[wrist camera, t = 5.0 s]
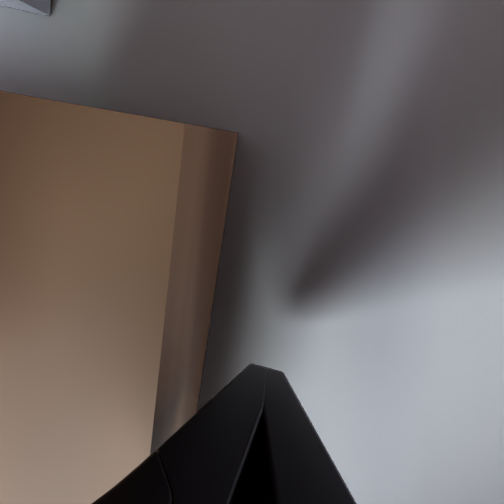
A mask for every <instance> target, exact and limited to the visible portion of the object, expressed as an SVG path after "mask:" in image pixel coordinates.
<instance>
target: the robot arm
mask: <svg viewBox="0 0 504 504" xmlns="http://www.w3.org/2000/svg"><path fill="white" fill-rule="evenodd" d="M92 504H356V502H355V500H354V498H353V497H352V495H351V493H350V491H349V489H348V488H347V486H346V484H345V482H344V480H343V479H342V477H341V475H340V473H339V471H338V470H337V468H336V466H335V464H334V462H333V461H332V459H331V457H330V455H329V453H328V452H327V450H326V448H325V446H324V444H323V443H322V441H321V439H320V437H319V435H318V434H317V432H316V430H315V428H314V426H313V425H312V423H311V421H310V419H309V417H308V416H307V414H306V412H305V410H304V408H303V407H302V405H301V403H300V401H299V399H298V398H297V396H296V394H295V392H294V390H293V389H292V387H291V385H290V383H289V382H288V380H287V378H286V376H285V374H284V373H283V372H281V371H278V370H274V369H271V368H266V367H263V366H260V365H256V364H250V365H248V366H247V367H246V368H245V369H244V370H243V371H242V372H241V373H240V374H238V375H237V376H236V377H235V378H234V379H233V380H232V381H231V382H230V383H229V384H227V385H226V386H225V387H224V388H223V389H222V390H221V391H220V392H219V393H218V394H217V395H215V396H214V397H213V398H212V399H211V400H210V401H209V402H208V403H207V404H206V405H205V406H203V407H202V408H201V409H200V410H199V411H198V412H197V413H196V414H195V415H194V416H192V417H191V418H190V419H189V420H188V421H187V422H186V423H185V424H184V425H183V426H182V427H180V428H179V429H178V430H177V431H176V432H175V433H174V434H173V435H172V436H171V437H169V438H168V439H167V440H166V441H165V442H164V443H163V444H162V445H161V446H160V447H159V448H158V449H157V451H154V452H153V453H152V454H151V455H149V456H148V457H147V458H146V459H145V460H144V461H143V462H142V463H141V464H140V465H139V466H137V467H136V468H135V469H134V470H133V471H132V472H130V473H129V474H128V475H127V476H126V477H125V478H123V479H122V480H121V481H120V482H119V483H118V484H116V485H115V486H114V487H113V488H111V489H110V490H109V491H108V492H106V493H105V494H104V495H102V496H101V497H100V498H98V499H97V500H96V501H94V502H93V503H92Z"/></svg>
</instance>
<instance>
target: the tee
mask: <svg viewBox="0 0 504 504" xmlns="http://www.w3.org/2000/svg"><path fill="white" fill-rule="evenodd" d="M237 138H238V133H236V132H230V131H225V130H219V129H213V128H208V127H202V126H196V125H190V124H185V123H179V122H173V121H168V120H162V119H156V118H151V117H145V116H139V115H134V114H128V113H122V112H117V111H111V110H105V109H100V108H94V107H88V106H82V105H77V104H71V103H65V102H60V101H54V100H48V99H43V98H37V97H31V96H26V95H20V94H14V93H9V92H3V91H0V504H92V503H93V502H94V501H96V500H97V499H98V498H100V497H101V496H102V495H104V494H105V493H106V492H108V491H109V490H110V489H111V488H113V487H114V486H115V485H116V484H118V483H119V482H120V481H121V480H122V479H123V478H125V477H126V476H127V475H128V474H129V473H130V472H132V471H133V470H134V469H135V468H136V467H137V466H139V465H140V464H141V463H142V462H143V461H144V460H145V459H146V458H147V457H148V456H149V455H151V454H152V453H153V452H154V451H157V449H158V448H159V447H160V446H161V445H162V444H163V443H164V442H165V441H166V440H167V439H168V438H169V437H171V436H172V435H173V434H174V433H175V432H176V431H177V430H178V429H179V428H180V427H182V426H183V425H184V424H185V423H186V422H187V421H188V420H189V419H190V418H191V417H192V416H194V415H195V414H196V413H197V407H198V401H199V394H200V387H201V381H202V374H203V367H204V360H205V354H206V347H207V340H208V333H209V327H210V320H211V313H212V307H213V300H214V293H215V286H216V280H217V273H218V266H219V259H220V253H221V246H222V239H223V233H224V226H225V219H226V212H227V206H228V199H229V192H230V185H231V179H232V172H233V165H234V159H235V152H236V145H237Z"/></svg>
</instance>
